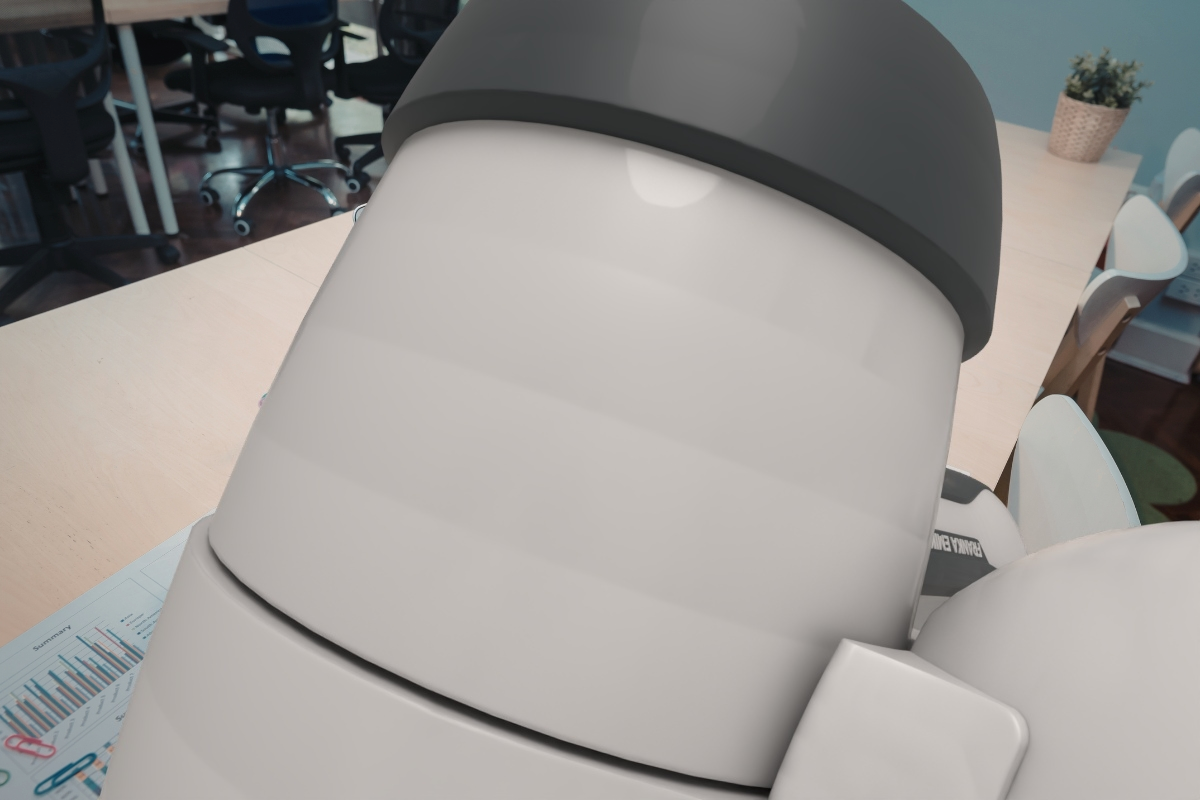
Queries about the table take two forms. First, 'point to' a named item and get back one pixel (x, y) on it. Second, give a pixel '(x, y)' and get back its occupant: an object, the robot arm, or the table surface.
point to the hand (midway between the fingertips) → (765, 327)
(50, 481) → the table surface
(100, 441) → the table surface
